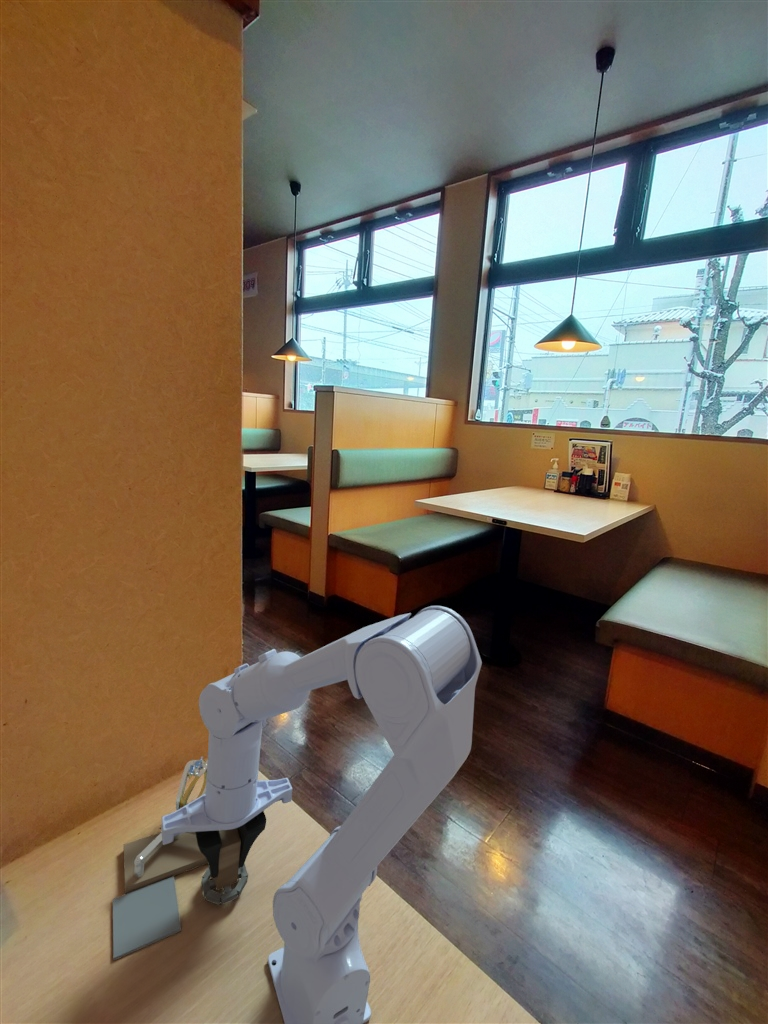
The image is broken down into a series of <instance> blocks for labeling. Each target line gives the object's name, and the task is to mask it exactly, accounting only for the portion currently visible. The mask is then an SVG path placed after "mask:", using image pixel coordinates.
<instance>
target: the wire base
mask: <svg viewBox="0 0 768 1024" xmlns="http://www.w3.org/2000/svg"><path fill="white" fill-rule="evenodd" d="M160 833H161V831H160V832H157V833H154V834H152V835H149V836H145V837H142V838H140V839H136V840H133V841H130V842H127V843H126V842H125V844H123V871H124V876H123V877H124V895H125V894H128V893H130V892H133V891H136V890H138V889H141V888H143V887H146V886H149V885H151V884H154V883H157V882H159V881H162V880H165V879H167V878H170V877H173V876H174V877H175V876H178V875H180V874H184V873H185V872H187V871H190V870H193V869H197V868H199V867H201V866H202V867H203V866H204V865H208V860H207V859H206V857H205V856H204V855H203V854H202V853H201V851H200V849H199V847H198V844H197V838H196V835H193V834H189V833H182V834H180V838H179V839H178V840H173V842H171V843H168V844H165V845H162V846H161V847H160V848H159V849H158V850H157V851H156V852H155V853H154V854H153V855H152V856H151V857H150V858H149V859H148V860H147V862H146V863H145V864H144V875H143V876H142V877H141V878H139V879H136V878H135V877H134V875H135V864H134V861H135V859H136V857H137V856H138V855H139V854H140V853H141V852H142V851H143V850H144V849H145V848H146V847H147V846H148V845H149V844H150V843H151V842H152V841H153V840H154V839H155V838H156V837H157V836H158V835H159V834H160Z"/></svg>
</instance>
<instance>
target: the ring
mask: <svg viewBox="0 0 768 1024" xmlns="http://www.w3.org/2000/svg"><path fill="white" fill-rule="evenodd" d="M207 761H208V759H207V760H204V756H200V759H191V760H189V761H187V763H186V764H185V766H184V769H183V773H182V775H181V779H180V782H179V786H178V790H177V795H176V799H175V809H176V810H175V811H177V810H179V809H180V808H182V807H184V806H185V805H187V804H188V800H189V798H190V796H191V795H192V791H194V788H195V787H196V784H197V782H198V780H199V779H200V778H201V777H202V776H203V783H202V787H201V789H200V790H199V793H198V795H197V797H196V798H195V799H197V798H199V797H200V796H202V795H204V794H205V793H206V778H207ZM192 777H194V778H193V780H192V781H191V783H190V784H189V785H188V787H187V789H186V786H187V781H188V779H189V780H190V779H192Z"/></svg>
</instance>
